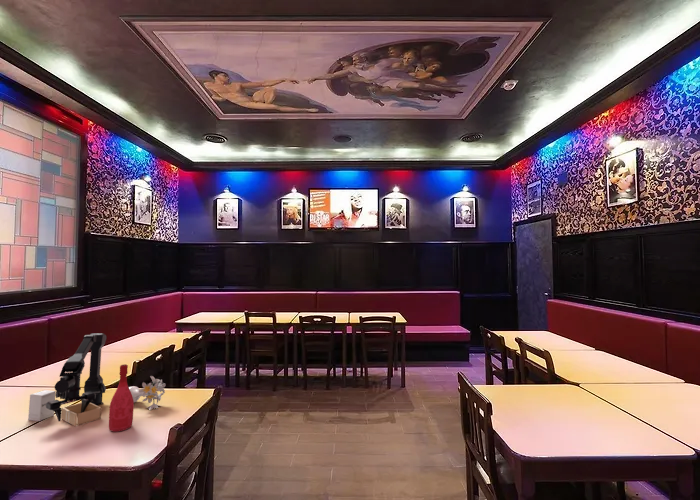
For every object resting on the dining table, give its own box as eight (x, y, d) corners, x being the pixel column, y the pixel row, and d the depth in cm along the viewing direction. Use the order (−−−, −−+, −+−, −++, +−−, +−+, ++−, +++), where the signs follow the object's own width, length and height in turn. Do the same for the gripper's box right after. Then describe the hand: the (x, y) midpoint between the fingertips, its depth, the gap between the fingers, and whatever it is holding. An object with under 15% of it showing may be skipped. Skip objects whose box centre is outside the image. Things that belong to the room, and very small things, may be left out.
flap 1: (63, 417, 179) (63, 407, 180) (68, 421, 176) (69, 410, 176) (60, 418, 179) (61, 408, 179) (66, 421, 175) (67, 411, 175)
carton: (86, 411, 188) (87, 401, 189) (100, 418, 180) (101, 407, 180) (63, 418, 180) (64, 407, 180) (77, 425, 171) (78, 414, 172)
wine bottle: (106, 434, 163) (110, 368, 165) (109, 426, 171) (113, 363, 173) (131, 430, 167) (134, 366, 169) (133, 422, 176) (136, 361, 178)
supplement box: (39, 421, 176) (41, 395, 176) (27, 420, 177) (29, 394, 178) (54, 415, 183) (56, 390, 184) (43, 414, 184) (44, 389, 185)
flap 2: (69, 421, 175) (70, 410, 176) (76, 425, 171) (77, 414, 172) (67, 422, 174) (68, 411, 175) (74, 425, 170) (75, 414, 171)
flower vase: (123, 417, 197) (154, 413, 188) (113, 386, 197) (143, 380, 188) (144, 405, 209) (173, 400, 200) (134, 376, 209) (164, 369, 200)
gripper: (87, 378, 187) (85, 408, 186) (42, 387, 171) (40, 420, 170) (96, 382, 181) (95, 413, 180) (51, 392, 166) (49, 426, 165)
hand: (70, 418), depth 174 cm, fingers open, 9 cm apart
